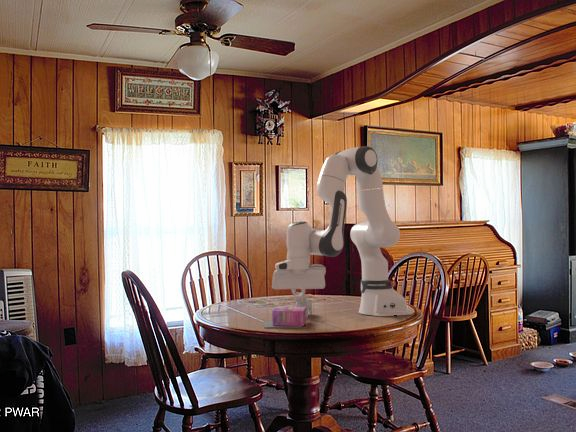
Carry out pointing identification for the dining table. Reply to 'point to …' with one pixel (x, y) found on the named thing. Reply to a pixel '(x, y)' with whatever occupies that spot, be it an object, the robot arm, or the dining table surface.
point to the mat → (270, 325)
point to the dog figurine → (304, 303)
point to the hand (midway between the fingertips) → (298, 300)
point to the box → (289, 316)
